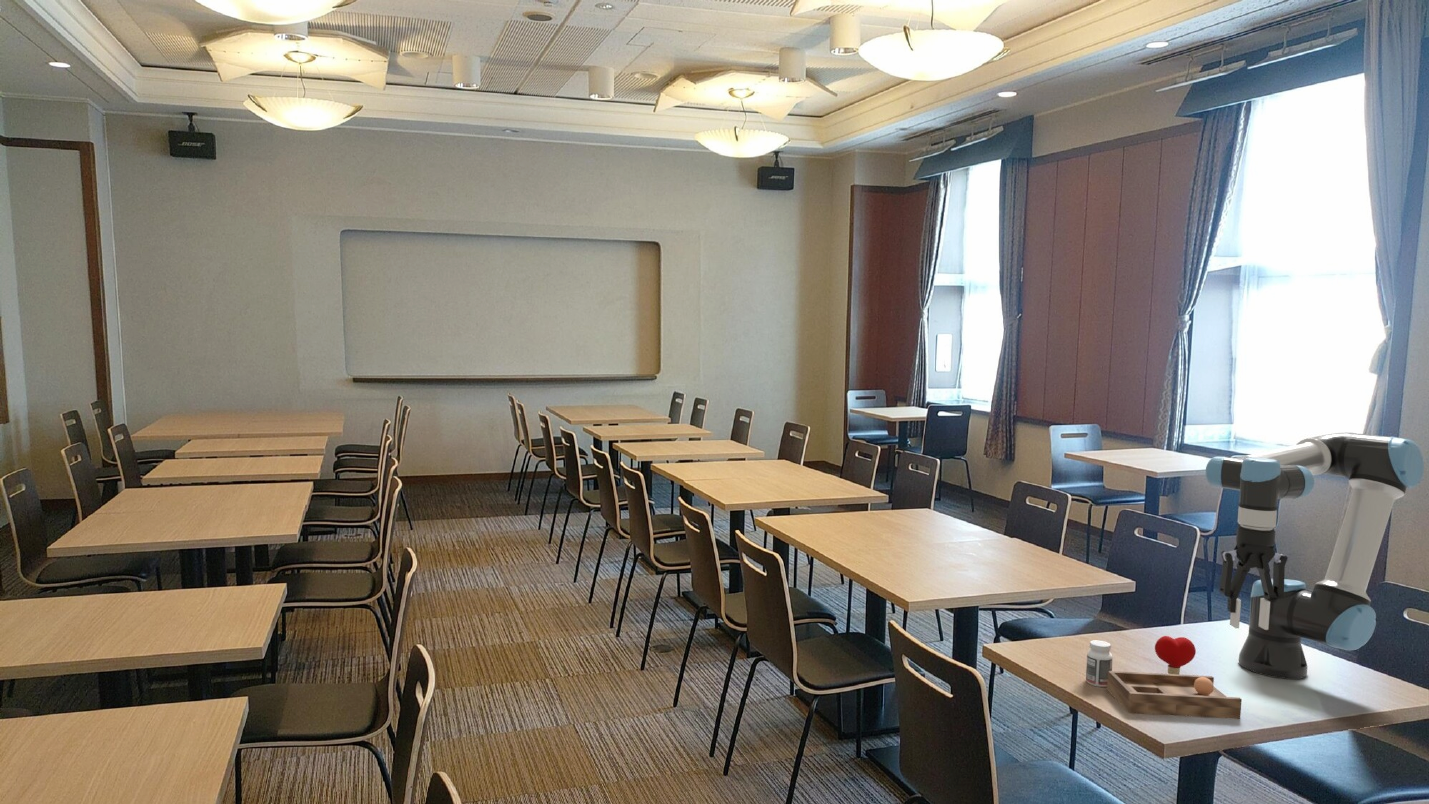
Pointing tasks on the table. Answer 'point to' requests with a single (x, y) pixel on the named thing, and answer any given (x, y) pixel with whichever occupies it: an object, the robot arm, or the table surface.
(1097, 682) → the pill bottle
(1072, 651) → the table surface
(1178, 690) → the lane
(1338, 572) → the robot arm
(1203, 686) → the ball
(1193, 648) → the red heart-shaped lump
